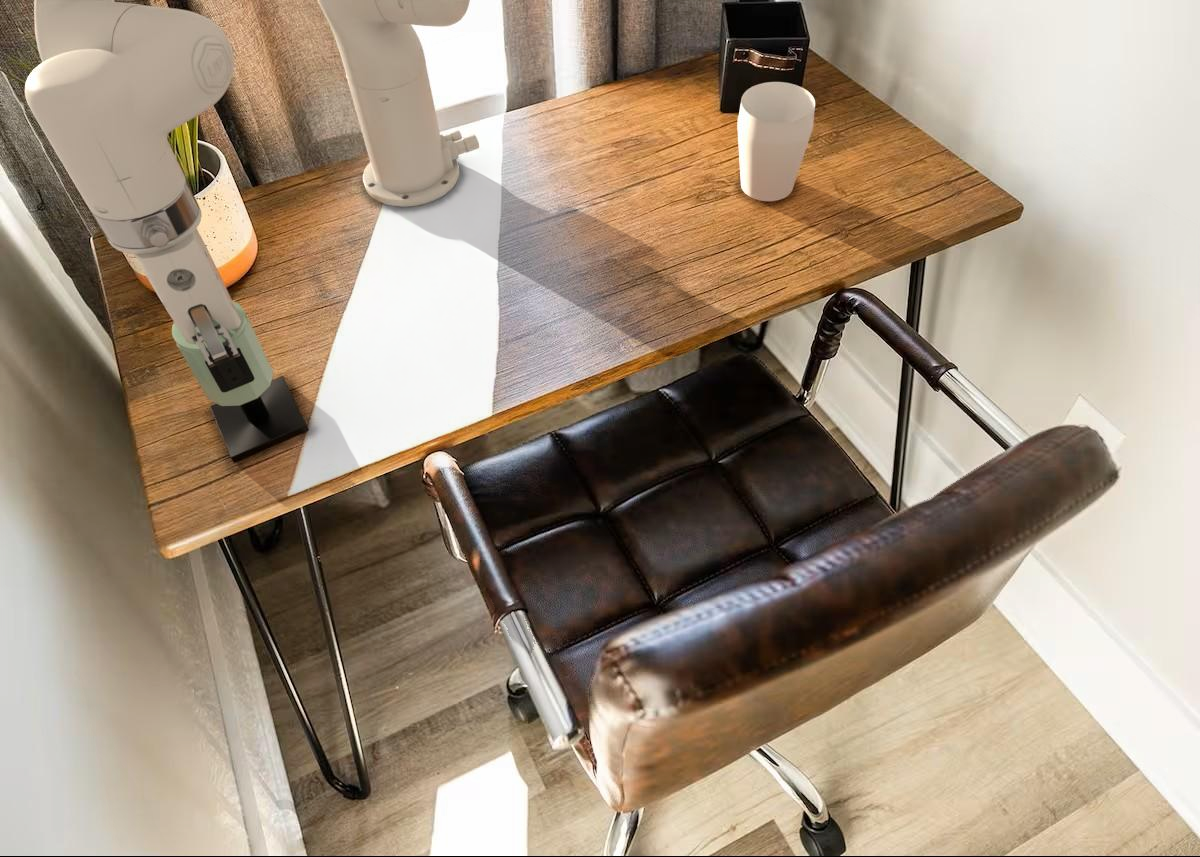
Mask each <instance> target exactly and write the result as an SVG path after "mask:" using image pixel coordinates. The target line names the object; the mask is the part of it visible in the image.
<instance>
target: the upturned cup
mask: <svg viewBox="0 0 1200 857" xmlns="http://www.w3.org/2000/svg"><path fill="white" fill-rule="evenodd" d="M232 302H233V304H234V306H235V308H236V310H237V313H238V315H239V317H240V320H241V324H240V326H239V328H235V329H233V330H231V331H229V330H228V332H229V334H230V336H231V338H232V340H233V342H234V344H235V346H236V349H237V348H240V350H241V352H242V354H243V356H244V358H245V360H246V362H247V364H248V366H249V367H250V369H251V371H252V373H253V375H254V378H255V379H254V381H252V382H250V383H248V384H245V385H243V386H240V387H238V388H235V389H233V390H230V391H228V392H225V393H224V392H221V390H220V389H219V387H218V385H217V383H216V381H215V380H214V378H213V376H212V374H211V373H210V371H209V369H208V367H207V365H206V363H205V361H206V359H205V357H204V355H203V353H202V351H201V349H200V347H199V345H198V343H197V342H196V345H195V344H191V343H188V342H187V341H186V339H185V338H184V336H183V335H182V333H181V332H180V330H179V329H178V327H177V326H176V324H175V323H174V322H173V324H172V327H171V336H172V338H173V340H174V342H175V344H176V347H177V348H178V351H179V352H180V353H181V355H182V357H183V358H184V360H185V362H186V364H187V365H188V368H189V369H190V371H191V372H192V374H193V376H194V377H195V379H196V381H197V383H198V384H199V386H200V388H201V389H202V392H203V394H204V396H205V397H206V399H207V400H208V401H211V402H212V403H214V404H218V405H220V406H240V405H242V404H245V403H247V402H249V401H252V400H254V399H257V398H258V397H259V396H260V395H261V394H262V393H263V392H264V391H265V390H266V389H267V388H268V387H269V386H270V384H271V380H273V377H274V370H273V368H272V366H271V363H270V361H269V360H268V357H267V355H266V353H265V351H264V349H263V347H262V344H261V343H260V340H259V338H258V336H257V334H256V331H255V330H254V328H253V326H252V324H251V321H250V320H249V317H248V315H247V314H246V311H245V309H244V308H243V306H242V305H241V304H240V303H238V302H237V301H235V300H232ZM212 323H213V325H214V326H217V325H219V323H217V322H216V321H212ZM195 329H196V331H197V333H199V332H200V331H199V329H198V327H196V328H195ZM219 337H220V339H221V341H222V343H223V345H224V346H225V345H227V346H228V344H227V342H226V340H225V338H224V336H223V334H220V335H219ZM204 342H205V341H204ZM205 344H206V343H205ZM206 346H207V345H206ZM228 347H229V346H228ZM207 348H208V347H207ZM208 350H209V349H208ZM209 352H210V351H209Z"/></svg>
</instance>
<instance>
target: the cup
mask: <svg viewBox="0 0 1200 857" xmlns="http://www.w3.org/2000/svg"><path fill="white" fill-rule="evenodd" d="M815 110H816V100H815V97H814V96H813V95H812V93H811V92H809V91H808V90H807V89H805V88H804V87H802V86H799V85H797V84H793V83H790V82H785V81H767V82H763V83H759V84H755V85H753V86H751V87H750V88H748V89H746V90H745V91H744V93H743V94H742V96H741V99H740V104H739V112H738V116H737V127H736V128H737V142H738V143H737V144H738V159H739V174H740V175H739V176H740V177H739V178H740V187H741V188H740V189H741V190H742V191H743V192H744V194H745V195H746V196H748V197H749V198H751V199H754V200H756V201H761V202H776V201H780V200H783V199H785V198H787V197H788V196H789V195H790V194H791V193H792V192H793V189H794V186H795V184H796V181H797V177H798V175H799V171H800V168H801V166H802V163H803V159H804V157H805V154H806V150H807V148H808V145H809V142H810V138H811V136H812V132H813V129H814V119H815Z"/></svg>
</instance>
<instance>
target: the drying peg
mask: <svg viewBox="0 0 1200 857" xmlns="http://www.w3.org/2000/svg"><path fill="white" fill-rule="evenodd" d="M209 408H210V411H211V414H212V416H213V419H214V420H215V423H216V426H217V428H218V431H219V434H220V436H221V438H222V440H223V443H224V446H225V448H226V450H227V452H228V455H229V457H230V459H231V461H232V462H233V464H236V463H239V462H240V461H243V460H246V459H247V458H250V457H253V456H254V455H256V454H259V453H261V452H264V451H266V450H268V449H270V448H273V447H275V446H277V445H280V444H282V443H284V442H286V441H288V440H291V439H293V438H296V437H297V436H300V435H302V434H304V433H307V432H309V431H310V428H309V426H308V424H307V422H306V420H305V418H304V416H303V414H302V412H301V410H300V408H299V405H298V403H297V402H296V400H295V398H294V396H293V393H292V391H291V389H290V388H289V385H288V383H287V381H286V379H285V377H284V376H283V375H281V376H279V377H276V378H274V379H272V380H271V384H270V386H269V387H268V388H267V389H266V390H265V391H264V392H263V393H262V394H261V395H260V396H259V397H258V398H257V399H254V400H252V401H249V402H247V403H245V404H242V405H240V406H220V405H218V404H216V403H214V404H211V405H210V406H209Z"/></svg>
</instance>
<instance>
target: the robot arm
mask: <svg viewBox="0 0 1200 857" xmlns="http://www.w3.org/2000/svg"><path fill="white" fill-rule="evenodd" d="M33 1H34V2H33V10H34V11H33V14H34V15H33V20H34V34H35V40H36V47H37V51H38V54H39V57H40V59H41V63H40V64H38V65H37V66H36V67H35V68H33V70H32V71H31V72H30V74H28V77H27V78H26V81H25V85H24V97H25V100H26V103H27V106H28V107H29V109H30V112H31V113H32V114H33V117H34V118H35V120H36V122H37V123H38V125H39V128H40V129H41V130H42V133H43V134H44V135H45V137H46V139H47V140H48V142H49V144H50V146H51V147H52V149H53V151H54V152H55V154H56V156H57V157H58V159H59V161H60V163H61V164H62V166H63V167H64V169H65V171H66V172H67V174H68V176H69V177H70V179H71V181H72V183H73V184H74V186H75V187H76V189H77V191H78V192H79V194H80V196H81V197H82V200H83V201H84V202H85V204H86V206H87V208H88V209H89V211H90V213H91V214H92V216H93V218H94V220H95V221H96V223H97V224H98V226H99V227H100V230H101V231H102V233H103V235H104V236H105V238H106V240H107V241H108V243H109V245H110V246H111V247H112V248H113V249H115V250H117V251H118V252H122V253H124V254H129V255H134V257H135V259H136V261H137V263H138V265H139V266H140V268H141V270H142V271H143V273H144V275H145V276H146V278H147V280H148V282H149V284H150V285H151V287H152V288H153V291H154V292H155V294H156V295H157V297H158V298H159V300H160V302H161V303H162V306H164V308H165V310H166V312H167V313H168V315H169V316H170V318H171V319H172V321H173V324H174V323H175V324H176V326H177V327H178V329H179V330H180V332H181V333H182V335H183V336H184V338H185V339H186V341H187V342H188V343H191V344H195V345H196V342H197V343H198V345H199V347H200V349H201V351H202V353H203V355H204V357H205V359H206V361H205V363H206V365H207V367H208V369H209V371H210V373H211V374H212V376H213V378H214V380H215V381H216V383H217V385H218V387H219V389H220V390H221V392H224V393H225V392H228V391H230V390H233V389H235V388H238V387H240V386H243V385H245V384H248V383H250V382H252V381H254V379H255V378H254V375H253V373H252V371H251V369H250V367H249V366H248V364H247V362H246V360H245V358H244V356H243V354H242V352H241V350H240V348H237V349H236V346H235V344H234V342H233V340H232V338H231V336H230V334H229V332H228V330H229V331H231V330H233V329H235V328H239V326H240V324H241V320H240V317H239V315H238V313H237V310H236V308H235V306H234V304H233V302H232V301H233V299H232V297H231V295H230V293H229V291H228V289H227V287H226V285H225V283H224V281H223V278H222V276H221V274H220V271H219V270H218V268H217V265H216V264H215V262H214V260H213V257H212V256H211V253H210V251H209V249H208V248H207V245H206V243H205V241H204V239H203V238H202V236H201V234H200V231H199V230H198V227H199V225H200V223H201V220H202V216H203V214H202V209H201V207H200V205H199V203H198V200H197V199H196V196H195V194H194V193H193V190H192V188H191V185H190V183H189V182H188V180H187V178H186V176H185V174H184V172H183V170H182V167H181V166H180V163H179V161H178V159H177V157H176V155H175V153H174V150H173V149H172V146H171V144H170V142H169V139H168V136H169V134H170V133H171V132H172V131H174V130H176V129H177V128H180V127H181V126H182V125H184V124H186V123H188V122H190V121H192V120H193V119H195V118H197V117H199V116H200V115H201V114H203V113H205V112H206V111H208V110H210V109H211V108H212V107H213V106H214V105H216V104H217V103H218V102H219V101H220V100H221V99H222V97H224V95H225V93H226V92H227V90H228V88H229V87H230V84H231V83H232V82H231V81H232V79H233V76H234V71H235V70H234V69H235V56H234V51H233V47H232V44H231V42H230V40H229V38H228V37H227V35H226V33H225V31H223V29H222V28H221V27H220V26H219V25H218V24H216V23H215V21H213V20H211V19H210V18H208V17H206V16H204V15H203V14H199V13H197V12H194V11H191V10H186V9H180V8H174V7H173V8H172V7H163V6H151V5H145V4H140V3H130V2H121V1H115V0H33ZM316 1H317V3H318V5H319V7H320V9H321V11H322V13H323V14H324V17H325V19H326V20H327V23H328V25H329V27H330V30H331V33H332V34H333V38H334V40H335V43H336V46H337V48H338V52H339V55H340V58H341V62H342V66H343V69H344V72H345V77H346V80H347V83H348V87H349V91H350V94H351V99H352V102H353V105H354V109H355V112H356V116H357V119H358V123H359V127H360V130H361V135H362V137H363V140H364V145H365V148H366V152H367V155H368V159H369V162H368V164H367V165H366V166H365V168H364V170H363V174H362V182H363V184H364V188H365V190H366V192H367V194H368V195H369V197H371V198H372V199H373V200H375V201H377V202H379V203H381V204H383V205H384V204H385V205H387V206H393V207H403V208H406V207H414V206H421V205H425V204H428V203H432V202H433V201H436V200H438V199H440V198H442V197H443V196H445V195H446V194H448V193H449V192H450V191H451V190H452V189H453V188H454V187H455V185H456V184H457V183H458V180H459V178H460V166H459V162H458V160H457V159H459V155H464V154H467V153H470V152H473V151H475V150H478V149H480V143H479V140H478V138H477V136H476V135H475V134H474V133H472V134H471V135H467V136H464V137H463V136H462V133H461V131H460V130H459V129H457V130H454V131H451V132H449V133H448V134H445V135H443V134H441V132H440V127H439V121H438V118H437V112H436V107H435V103H434V98H433V91H432V87H431V82H430V78H429V73H428V68H427V61H426V56H425V51H424V49H423V45H422V43H421V40H420V38H419V35H418V34H417V32H416V30H415V29H414V27H413V25H414V26H423V27H438V28H439V27H449V26H452V25H455V24H457V23H459V22H460V21H461V20H462V19H463V18H464V16H465V15H466V14H467V11H468V9H469V6H470V1H471V0H316ZM212 321H216V322H217V323H219V325H217V326H214V325H213V323H212ZM196 327H198V329H199V331H200V332H199V333H197V331H196V329H195V328H196ZM220 334H223V336H224V338H225V340H226V342H227V344H228V346H229V347H228V346H227V345H225V346H224V345H223V343H222V341H221V339H220V337H219V335H220ZM204 341H205V342H204ZM205 343H206V344H205ZM206 345H207V346H206ZM207 347H208V348H207ZM208 349H209V350H208ZM209 351H210V352H209Z"/></svg>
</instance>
